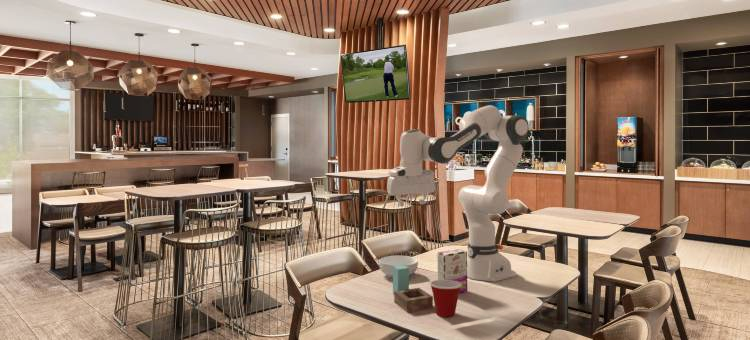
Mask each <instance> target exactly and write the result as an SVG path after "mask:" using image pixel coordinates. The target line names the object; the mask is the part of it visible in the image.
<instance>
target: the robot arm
mask: <svg viewBox="0 0 750 340" xmlns="http://www.w3.org/2000/svg"><path fill="white" fill-rule="evenodd" d="M458 128H459V131H458V132H456V133H455V134H453V135H451V136H449V137H447V136H446V137H432V136H430V135H427V134H425V133H423V132H422V131H421V129H416V128H415V129H408V130H404V131H403V132H402V133H401V135H400V138H399V154H400V162H399V166H397V167H394V168H392V169H389V170H388V175H389V177H388V178H387V182H386V192H387V194H388V195H389V196H392V197H393V196H395V198H396V200H397V201H398V202H397V203H398V206H399V207H404V205H405V202H404V201H403V200H402V199H401V198H402V196H403V195H414V194H416V195H417V194H421V196H422V197H421V198H420V199H419V205H425V204H426V202H425V201H426V199H427V196H428V193H435V191H436V182H435V172H434V171H433V170H431V169H423V161H425V162H432V163H433V162H434V163H438V164H441V165H442V164H443V165H444V164H448V163H450V162H451V161H452V160H453V159H454V158H455V156H456V155H457V154H458V153H459V152H460V151H461V150H462V149H464V148H465V147H467V146H468V145H470V144H471V143H473V142H474V141H475V140H477V139H478V138H481V137H482V136H485V138H486V139H487V140H489V141H491V142H498V147H497V149H496V151H495V153H494V154H493V156H492V157H491V159H490V160H489V162H488V164H487V165H486V167H485V168H484V175H485V176H484V177H486V181H485V183H484V185H482V186H481V185H475V184H472V185H466V186H463V187H461V188H460V190H459V192H458V195H457V197H458V203H459V204H460V205H461V207H462V208H463V210H464V213H465V216H466V220H467V225H468V242H467V278H469V279H472V280H477V281H485V282H487V281H488V282H493V283H495V282H500V281H503V280H506V279H511V278H514V277H517V272H516V271H515V270H513V269H512V264H511V261H510V260H509V258H507V257H505V256H504V255H503V254H501V253H500V252H499V250H500V251H502V250H503V249H504V246H503V245H502V244H497V243H496V226H495V223H494V222H493V221H492V219H491V217H490V216H489V215H500V214H503V213H505V211H506V210H508V207H509V203H510V202H509V196H508V195H507V186H508V183H509V181H510V180H511V177H512V176H513V173H514V172H515V170H516V168H517V167H518V165H519V163H520V161H521V158H522V155H523V152H524V148H523V146H522V143H524V142H525V140H526V138H527V136H528V133H529V129H530V128H529V121H528V120H527V118H525V117H523V116H522V115H503V116H502V115H501V112H500V110H499V109H498V107H496V105H495V106H494V105H490V104H489V105H485V106H482V107H479V108H477V109H474V110H472V111H470V112H468V113H467V114H465V115H464V116H463V117H461V118H460V120H459V123H458Z"/></svg>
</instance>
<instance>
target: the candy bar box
mask: <svg viewBox="0 0 750 340" xmlns="http://www.w3.org/2000/svg"><path fill="white" fill-rule="evenodd" d="M467 263H468V250H465V249H462V248H458V249H451V250H445V251H439V252H437V280H453V281H457V282H460V283H461V284H462V286H461V287H460V290H459V294H463V293H467V292H468V277H467Z"/></svg>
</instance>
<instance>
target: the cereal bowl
mask: <svg viewBox="0 0 750 340" xmlns="http://www.w3.org/2000/svg"><path fill="white" fill-rule="evenodd" d="M378 265H379V269H380V271H381V272H382V273H384V275H387V276H389V277H390V278H392V279H393V266H398V265H405V266H406V267H408V268H409V276H411V275H413V274H414V273H415V272H416V271H417V270H418V266H419V261H418V259H417V258H415V257H413V256H409V255H389V256H384V257H381V258H379V260H378Z"/></svg>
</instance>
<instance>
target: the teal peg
mask: <svg viewBox="0 0 750 340" xmlns="http://www.w3.org/2000/svg"><path fill="white" fill-rule="evenodd" d="M409 283H410V275H409V268H408V267H406V266H405V265H398V266H393V278H392V295H393V296H394V292H395V291H401V290H408V289H410V284H409Z"/></svg>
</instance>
